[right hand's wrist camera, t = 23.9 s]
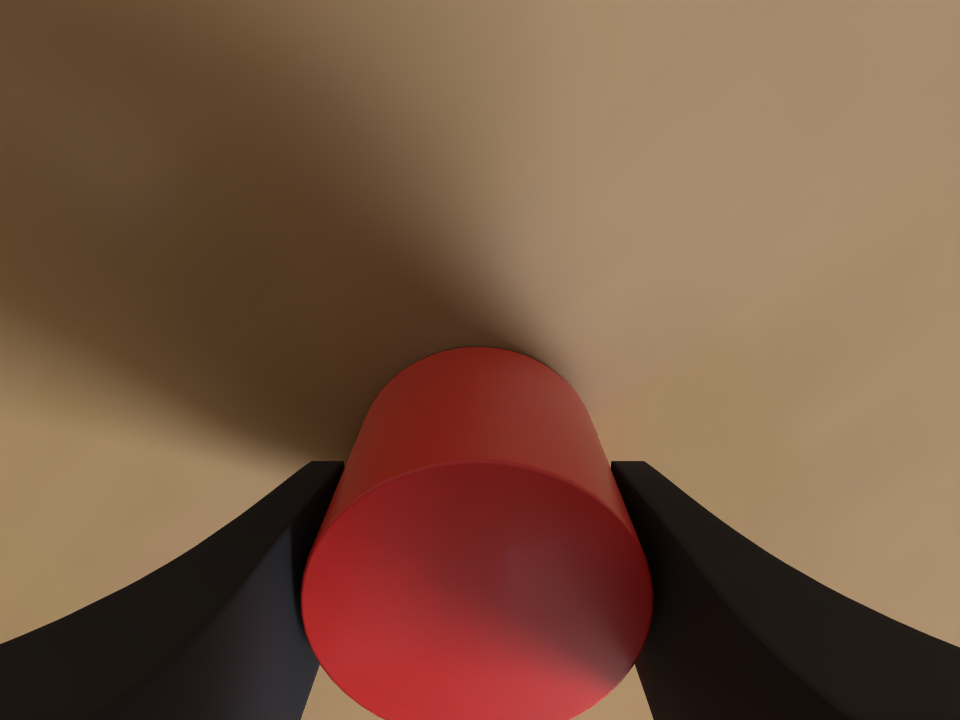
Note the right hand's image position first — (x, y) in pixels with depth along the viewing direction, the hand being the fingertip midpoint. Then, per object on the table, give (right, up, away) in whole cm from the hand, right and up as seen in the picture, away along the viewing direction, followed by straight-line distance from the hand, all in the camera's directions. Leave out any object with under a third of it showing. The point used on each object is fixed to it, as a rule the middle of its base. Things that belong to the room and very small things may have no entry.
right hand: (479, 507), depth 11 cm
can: (0, +1, +1) cm, 2 cm away
